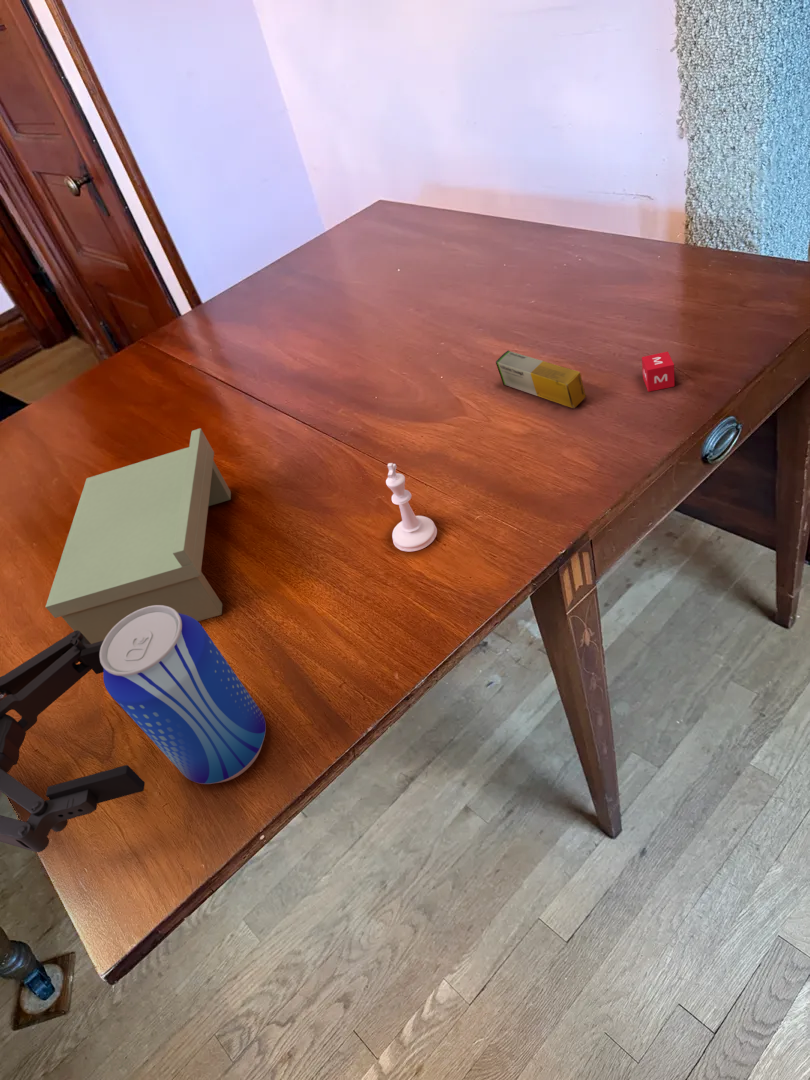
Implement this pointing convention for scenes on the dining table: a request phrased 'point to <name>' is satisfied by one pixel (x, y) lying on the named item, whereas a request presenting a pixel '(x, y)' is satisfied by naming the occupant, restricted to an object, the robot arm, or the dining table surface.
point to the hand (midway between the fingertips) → (147, 704)
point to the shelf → (140, 542)
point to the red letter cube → (658, 371)
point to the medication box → (541, 378)
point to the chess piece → (408, 517)
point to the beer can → (182, 694)
